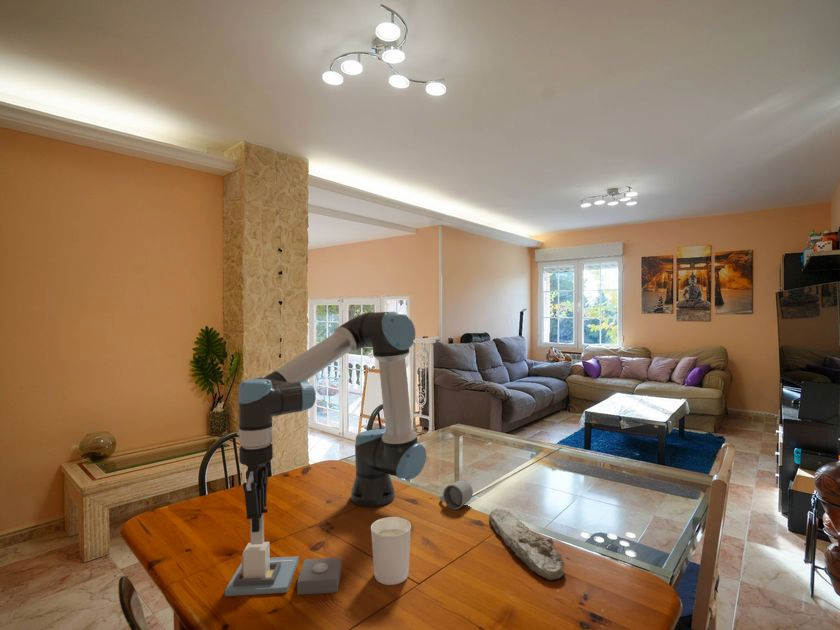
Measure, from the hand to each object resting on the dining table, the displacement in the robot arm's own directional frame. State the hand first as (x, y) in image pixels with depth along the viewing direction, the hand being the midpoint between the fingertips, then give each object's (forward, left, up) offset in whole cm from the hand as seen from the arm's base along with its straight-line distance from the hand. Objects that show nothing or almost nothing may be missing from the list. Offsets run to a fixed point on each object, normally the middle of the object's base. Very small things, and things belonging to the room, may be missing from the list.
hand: (257, 542), depth 106 cm
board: (-1, -2, -9) cm, 9 cm away
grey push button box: (-15, +1, -9) cm, 18 cm away
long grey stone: (-68, -10, -10) cm, 69 cm away
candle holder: (-32, 0, -10) cm, 33 cm away
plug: (0, 0, -8) cm, 8 cm away
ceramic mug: (-54, -38, -10) cm, 66 cm away
